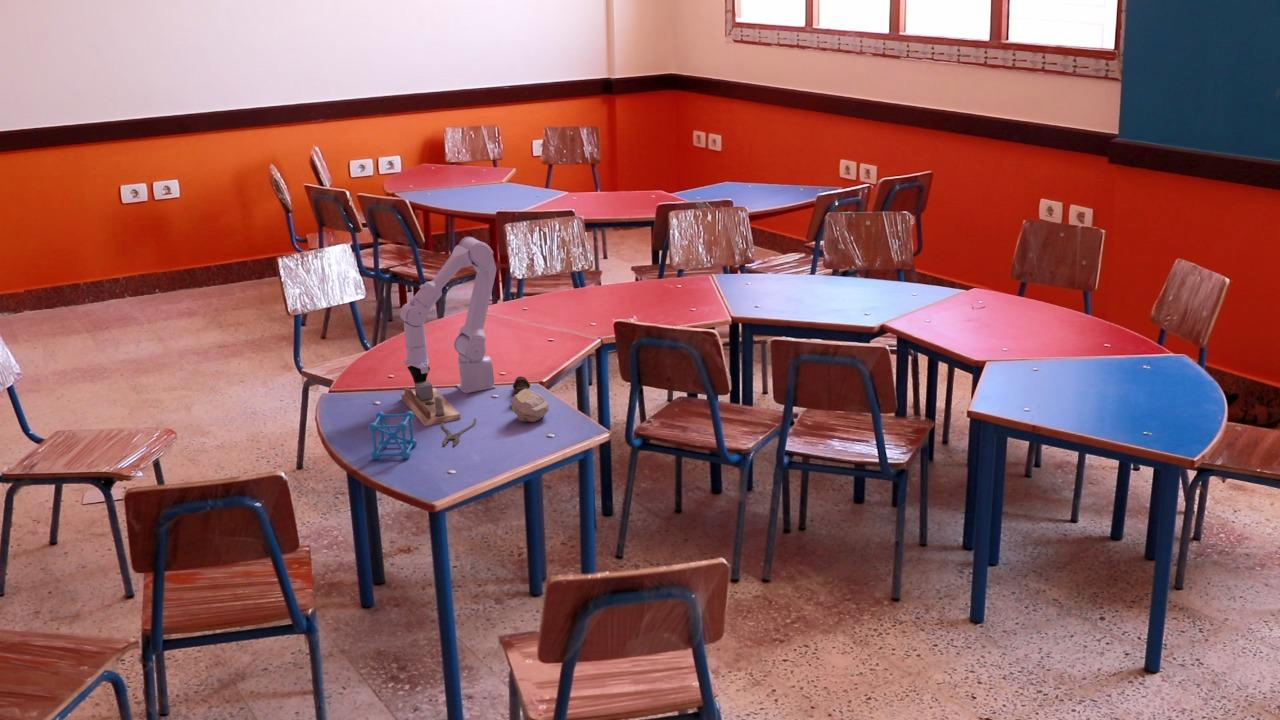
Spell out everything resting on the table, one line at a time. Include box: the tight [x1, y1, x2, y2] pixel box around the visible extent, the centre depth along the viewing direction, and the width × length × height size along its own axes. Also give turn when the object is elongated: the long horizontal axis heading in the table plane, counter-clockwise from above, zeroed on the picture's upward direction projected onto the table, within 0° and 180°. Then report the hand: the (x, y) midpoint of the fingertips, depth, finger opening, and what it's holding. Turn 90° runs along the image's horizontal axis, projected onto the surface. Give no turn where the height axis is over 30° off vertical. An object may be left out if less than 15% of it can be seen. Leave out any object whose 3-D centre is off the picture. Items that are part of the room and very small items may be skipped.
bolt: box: [511, 376, 531, 398], centre depth 352 cm, size 6×5×15 cm
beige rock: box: [511, 388, 550, 423], centre depth 334 cm, size 12×8×10 cm
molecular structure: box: [367, 410, 418, 461], centre depth 315 cm, size 10×10×10 cm
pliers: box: [440, 417, 477, 448], centre depth 328 cm, size 10×1×20 cm
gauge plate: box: [400, 386, 461, 427], centre depth 344 cm, size 10×24×6 cm, turn 25°
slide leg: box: [414, 380, 434, 401], centre depth 349 cm, size 4×4×4 cm
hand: (420, 389), depth 352 cm, fingers closed
